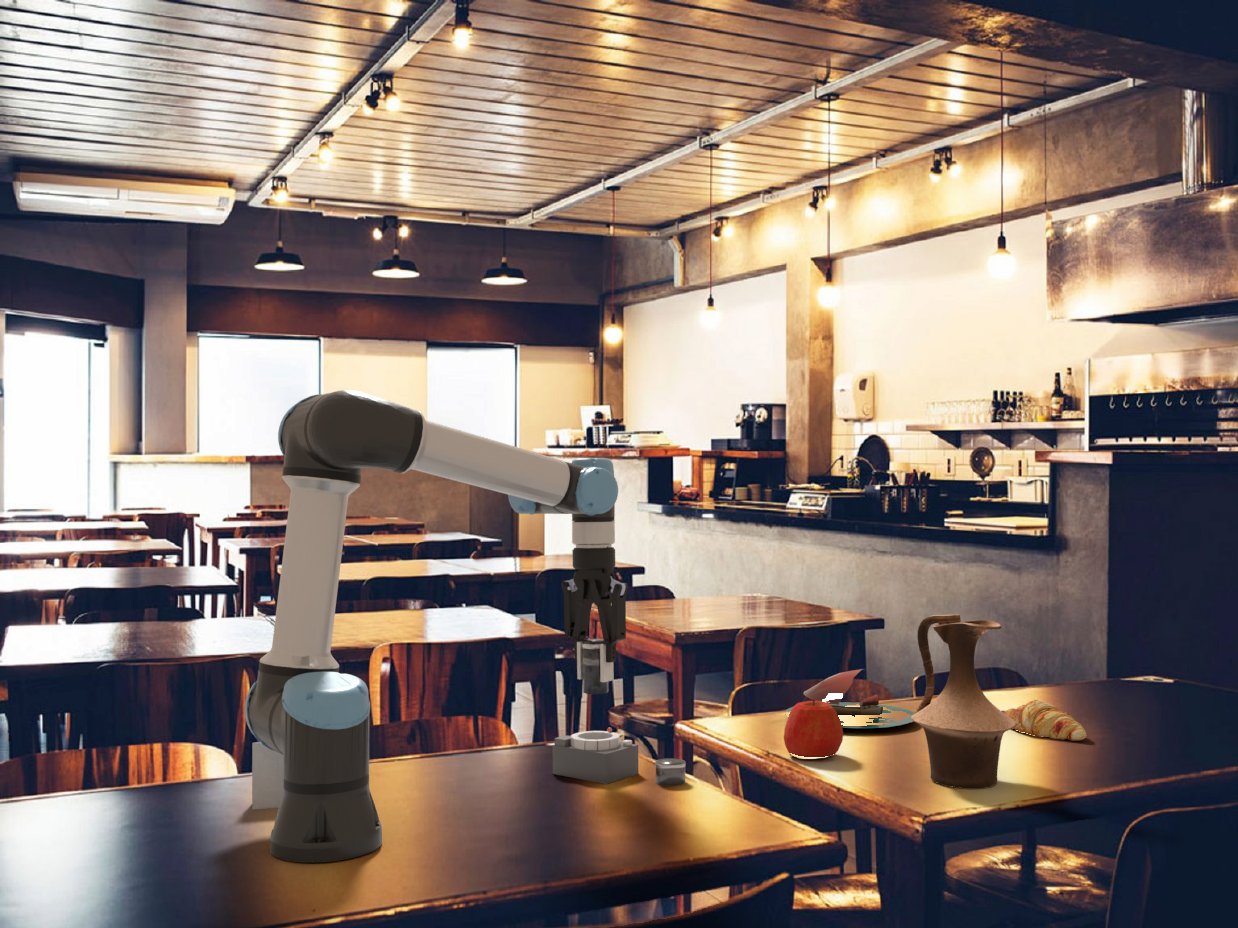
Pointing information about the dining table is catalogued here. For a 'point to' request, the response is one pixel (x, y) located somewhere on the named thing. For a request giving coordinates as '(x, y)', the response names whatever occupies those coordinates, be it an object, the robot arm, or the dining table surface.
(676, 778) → the cylinder
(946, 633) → the pitcher
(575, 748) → the camera body
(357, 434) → the robot arm
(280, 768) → the light grey rectangular block
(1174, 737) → the dining table surface
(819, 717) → the apple
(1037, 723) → the croissant
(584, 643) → the lens
